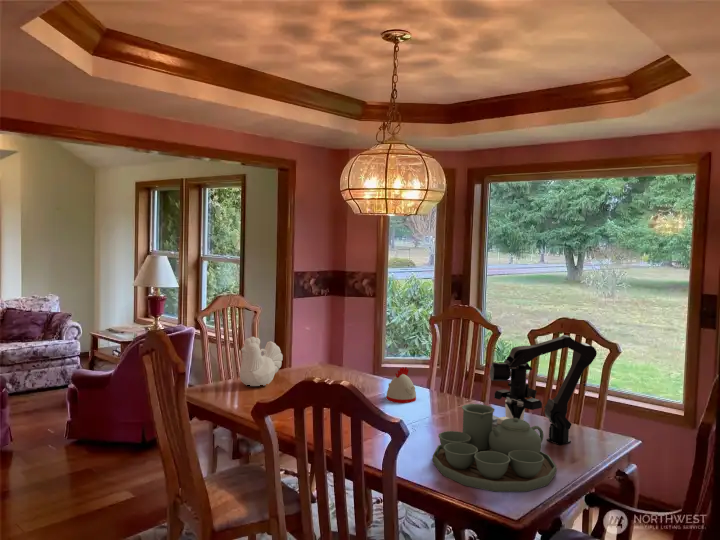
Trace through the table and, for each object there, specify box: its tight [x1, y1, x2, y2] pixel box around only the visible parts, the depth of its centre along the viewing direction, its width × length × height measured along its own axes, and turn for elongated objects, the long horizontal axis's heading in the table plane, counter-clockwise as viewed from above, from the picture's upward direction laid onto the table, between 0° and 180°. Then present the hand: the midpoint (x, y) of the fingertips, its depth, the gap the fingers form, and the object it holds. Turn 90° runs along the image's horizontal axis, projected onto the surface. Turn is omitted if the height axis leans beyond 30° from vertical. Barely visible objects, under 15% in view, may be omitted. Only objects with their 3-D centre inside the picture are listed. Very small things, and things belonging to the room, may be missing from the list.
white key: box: [497, 416, 510, 425], centre depth 230 cm, size 4×4×3 cm
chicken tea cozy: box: [385, 366, 417, 404], centre depth 279 cm, size 14×14×15 cm
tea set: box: [432, 403, 557, 493], centre depth 199 cm, size 40×40×16 cm
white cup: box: [504, 399, 526, 421], centre depth 244 cm, size 8×8×10 cm
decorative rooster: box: [239, 336, 284, 387], centre depth 299 cm, size 25×16×25 cm, turn 126°
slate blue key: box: [493, 414, 500, 422], centre depth 235 cm, size 4×4×3 cm
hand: (516, 421), depth 225 cm, fingers closed
